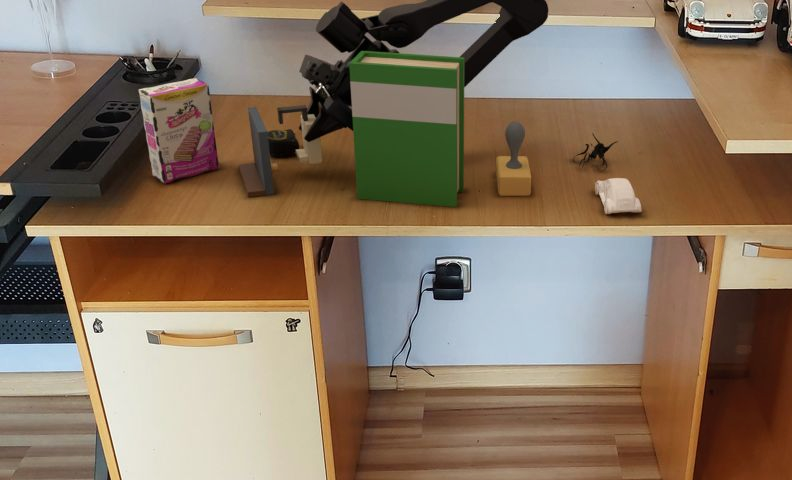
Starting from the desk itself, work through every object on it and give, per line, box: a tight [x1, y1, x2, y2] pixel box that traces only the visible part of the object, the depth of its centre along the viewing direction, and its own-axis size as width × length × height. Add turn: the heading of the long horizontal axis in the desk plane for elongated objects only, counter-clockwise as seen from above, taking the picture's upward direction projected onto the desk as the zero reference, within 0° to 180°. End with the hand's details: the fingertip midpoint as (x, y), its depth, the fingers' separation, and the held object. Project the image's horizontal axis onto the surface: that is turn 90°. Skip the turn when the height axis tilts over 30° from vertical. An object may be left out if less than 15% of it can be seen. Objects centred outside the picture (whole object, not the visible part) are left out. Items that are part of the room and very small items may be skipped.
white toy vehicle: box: [594, 177, 642, 215], centre depth 159 cm, size 12×6×5 cm, turn 9°
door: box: [237, 106, 279, 198], centre depth 161 cm, size 6×13×12 cm, turn 21°
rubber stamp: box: [495, 121, 532, 197], centre depth 162 cm, size 10×6×12 cm, turn 3°
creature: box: [572, 132, 619, 172], centre depth 174 cm, size 8×5×8 cm
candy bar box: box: [137, 77, 220, 184], centre depth 162 cm, size 11×5×16 cm, turn 135°
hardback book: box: [349, 51, 465, 208], centre depth 155 cm, size 18×7×24 cm, turn 82°
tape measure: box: [267, 128, 300, 156], centre depth 175 cm, size 7×7×4 cm
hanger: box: [276, 104, 323, 165], centre depth 162 cm, size 7×5×10 cm
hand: (303, 135), depth 163 cm, fingers closed on hanger, 5 cm apart
